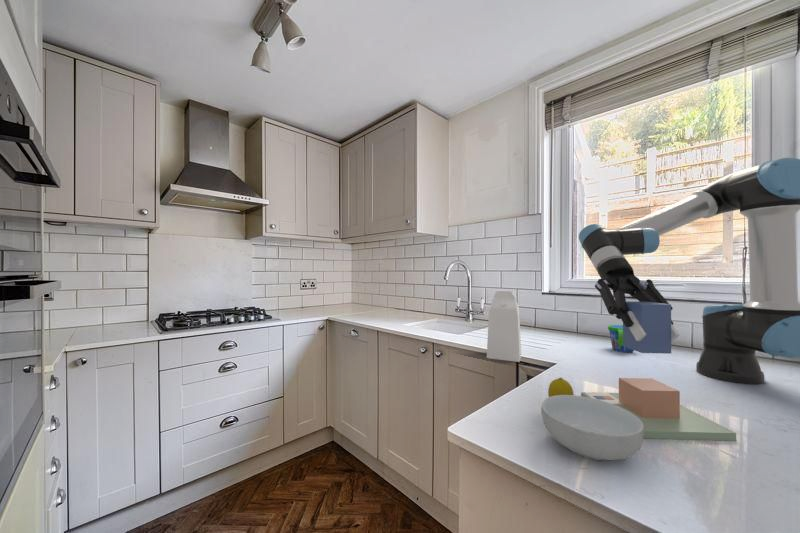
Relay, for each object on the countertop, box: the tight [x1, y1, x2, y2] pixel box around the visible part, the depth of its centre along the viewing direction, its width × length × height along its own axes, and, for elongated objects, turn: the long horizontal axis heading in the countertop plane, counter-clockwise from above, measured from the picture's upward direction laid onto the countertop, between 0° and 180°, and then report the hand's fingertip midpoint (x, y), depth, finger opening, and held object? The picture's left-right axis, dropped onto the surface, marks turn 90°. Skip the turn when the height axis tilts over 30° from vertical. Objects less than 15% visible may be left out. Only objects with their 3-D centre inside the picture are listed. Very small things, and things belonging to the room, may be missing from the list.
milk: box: [486, 290, 522, 363], centre depth 124 cm, size 12×12×26 cm
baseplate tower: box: [580, 377, 737, 442], centre depth 73 cm, size 20×20×8 cm
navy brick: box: [622, 300, 672, 354], centre depth 73 cm, size 6×6×11 cm
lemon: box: [548, 377, 575, 397], centre depth 76 cm, size 6×6×8 cm
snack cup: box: [607, 324, 635, 353], centre depth 132 cm, size 16×10×10 cm
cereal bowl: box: [540, 394, 644, 461], centre depth 60 cm, size 17×17×7 cm
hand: (657, 338), depth 70 cm, fingers closed on navy brick, 6 cm apart
